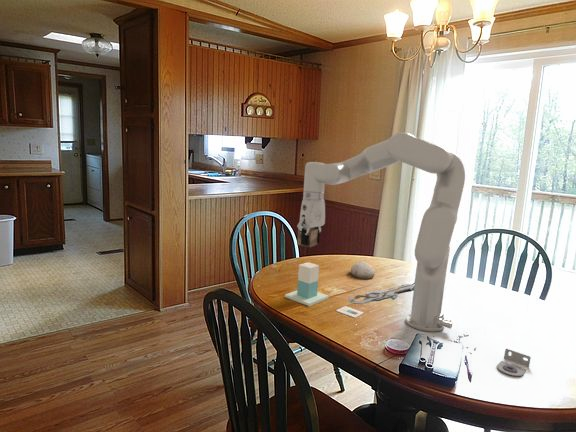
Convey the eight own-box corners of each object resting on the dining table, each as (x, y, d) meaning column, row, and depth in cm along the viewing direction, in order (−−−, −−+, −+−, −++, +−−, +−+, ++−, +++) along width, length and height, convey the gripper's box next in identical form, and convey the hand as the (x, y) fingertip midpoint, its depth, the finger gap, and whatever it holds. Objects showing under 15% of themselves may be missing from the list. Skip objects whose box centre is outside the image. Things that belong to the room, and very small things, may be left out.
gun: (343, 302, 164) (362, 310, 156) (343, 296, 164) (362, 305, 156) (409, 284, 186) (428, 291, 178) (410, 279, 186) (429, 286, 178)
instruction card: (364, 313, 151) (364, 312, 151) (354, 317, 147) (355, 317, 147) (345, 306, 156) (345, 305, 156) (335, 310, 152) (336, 310, 152)
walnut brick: (317, 244, 161) (318, 229, 160) (310, 247, 156) (311, 231, 155) (304, 242, 164) (305, 226, 163) (297, 244, 159) (298, 229, 158)
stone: (366, 289, 190) (378, 276, 188) (349, 276, 189) (361, 263, 187) (363, 277, 202) (375, 265, 200) (347, 265, 201) (358, 252, 199)
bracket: (493, 371, 117) (495, 359, 116) (504, 359, 124) (505, 348, 124) (519, 381, 113) (521, 369, 112) (528, 367, 120) (530, 356, 120)
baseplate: (328, 298, 164) (328, 295, 163) (309, 306, 155) (309, 303, 154) (304, 289, 171) (304, 287, 171) (284, 297, 162) (284, 294, 162)
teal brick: (317, 295, 163) (318, 280, 162) (308, 299, 159) (309, 283, 158) (305, 291, 167) (306, 276, 165) (296, 294, 162) (297, 279, 161)
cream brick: (318, 280, 162) (319, 265, 161) (309, 283, 158) (310, 268, 157) (307, 276, 165) (308, 262, 164) (297, 279, 161) (298, 264, 160)
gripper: (306, 199, 147) (303, 249, 150) (335, 195, 160) (331, 242, 163) (290, 196, 152) (287, 244, 155) (319, 193, 165) (316, 238, 168)
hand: (310, 243), depth 159 cm, fingers closed on walnut brick, 5 cm apart
